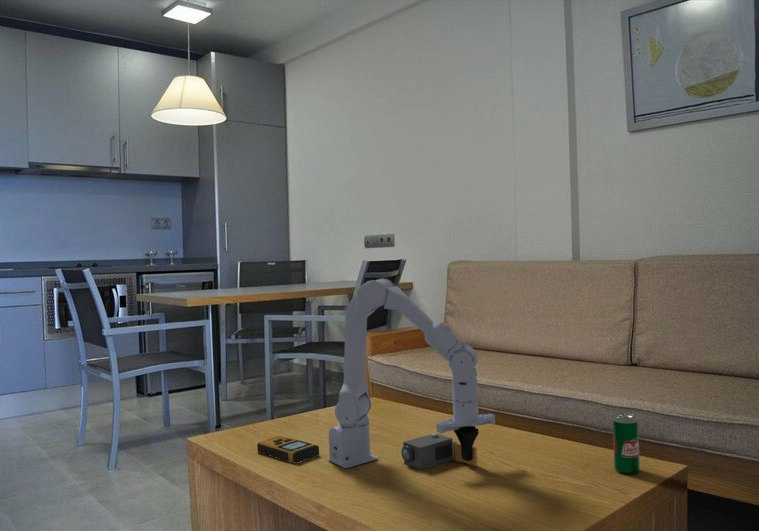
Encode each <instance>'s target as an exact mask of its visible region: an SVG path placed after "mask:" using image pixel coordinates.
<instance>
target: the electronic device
mask: <svg viewBox="0 0 759 531" xmlns="http://www.w3.org/2000/svg"><path fill="white" fill-rule="evenodd" d="M256 446H257V452H258V453H259V452H261V453H260V454H262V453H264V454H263V455H265V454H267V455H266V456H268V455H271V456H274V457H273V458H275V457H277V458H276V459H278V458H280V459H279V460H281V459H284V460H287V461H286V462H289V461H291V462H290V463H292V462H295V463H297V462H300V461H302V462H304V461H303V460H305V459H308V458H311V459H312V457H313V458H315V457H314V456H316V457H318V456H317V455H320V448H319V445H316V444H315V443H314V444H313V443H310V442H306V441H302V440H298V439H295V438H292V437H287V436H283V435H277V436H274V437H270V438H267V439H264V440H260V441H258V442H257V445H256ZM271 456H270V457H271ZM284 460H283V461H284ZM308 460H309V459H308ZM305 461H306V460H305ZM295 463H294V464H295ZM300 463H301V462H300ZM297 464H298V463H297Z"/></svg>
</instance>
